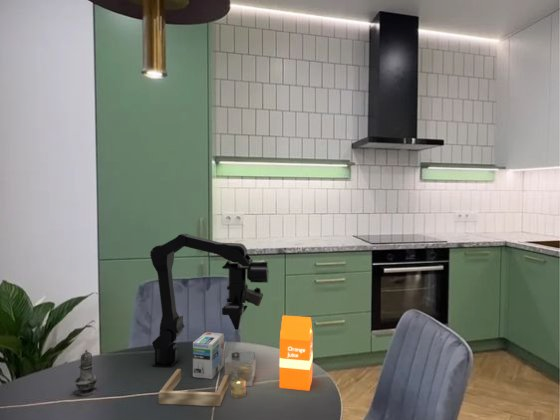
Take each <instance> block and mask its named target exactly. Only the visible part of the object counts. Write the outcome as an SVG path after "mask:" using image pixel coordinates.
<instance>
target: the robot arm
mask: <svg viewBox="0 0 560 420" xmlns="http://www.w3.org/2000/svg"><path fill="white" fill-rule="evenodd" d="M184 247H186V248H189V249H194V250H197V251H201V252H206V253H211V254H215V255H218V256H219V257H220V258H223V259H225V260H226V262H225V264H224V265H223V266H222V267H221V269H224V270H228V278H227V279H228V282H227V283H228V285H227V286H226V290H228V298H226V302H227V303H225V304H224V305H223V307H222V308H221V315H222V316H228V317H229V319H230V321H231V324H232V326H233V328H234V330H239V329H240V326H241V320H242V316H243V314H244V313H245V311H246V309H247V307H248V305H244V304H246V303H250V304H252V305H254V306H257V307H259V306H260V305H261V302H262V300H263V298H264V294H263V292H262V291H261V288H259V287H257V286H256V287H255V288H254V289H251V288H249V285H248V284H247V280H248V281H250V283H264V284H265V283H267V284H268V283H269V278H270V277H269V276H270V274H269V273H270V272H269V265H268V261H253V259H252V258H251V257H250V255H249V254H248V250H247V247H246V245H244V244H243V243H240V242H239V243H238V242H220V241H216V240H212V239H207V238H205V237H199V236H196V235H195V236H194V235H192V234H188V233H181V234H179V235H177V236H176V237H174V238H173V239H171V240H169V241H167V242H166V243H163V244H160V245H155V246H154V247H153V248H152V249H151V251H150V254H149V255H150V259H151V263H152V266H153V268H154V269H155V271H156V273H157V281H158V288H159V290H158V291H159V297H160V306H161V307H160V308H161V320H160V322H159V323H160V324H159V333H158V334H159V335H158V336H157V337H156V338H155V339H154V340H153V341H152V347H153V349H154V362H153V363H152V367H163V368H164V367H166V368H169V367H170V368H171V367H173V365H175V364H176V362H177V361H178V359H179V357H178V356H179V354H178V350H179V348H178V347H177V343H176V341H177V339H178V338H179V337H180V336H181V335H182V333H183V331H184V328H186V326H185V325H184V315H179V314H178V312H177V306H176V299H175V298H176V297H175V290H174V289H175V288H174V287H175V286H174V279H173V273H172V272H173V271H172V270H173V265H174V261H175V253H177V252H179V251H180V250H181V249H183V248H184Z"/></svg>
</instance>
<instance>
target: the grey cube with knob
mask: <svg viewBox="0 0 560 420" xmlns="http://www.w3.org/2000/svg"><path fill="white" fill-rule="evenodd" d="M256 361H257V360H256V351H240V350H239V351H237V350H236V351H235V350H234V351H233V350H230V351H229V352H228V355H227V356H226V358H225V359H224V375H229V386H231V380H232V379H233V378H236V377H242V378H245V379H246V387H252V386H253V383H254V379H255V376H256V369H257V367H256Z"/></svg>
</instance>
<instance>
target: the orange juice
mask: <svg viewBox="0 0 560 420" xmlns="http://www.w3.org/2000/svg"><path fill="white" fill-rule="evenodd" d="M281 319H282V320H281V326H280V334H279V336H280V337H279V388H280V389H289V390H290V389H291V390H299V391H310V389H311V385H312V380H313V357H314V356H313V343H314V341H313V340H314V339H313V327H312V326H313V324H312V317H310V316H297V315H296V316H295V315H282V317H281Z"/></svg>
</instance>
